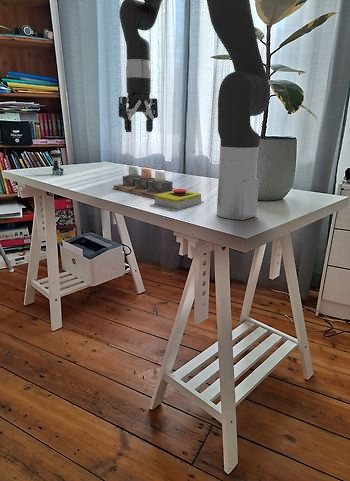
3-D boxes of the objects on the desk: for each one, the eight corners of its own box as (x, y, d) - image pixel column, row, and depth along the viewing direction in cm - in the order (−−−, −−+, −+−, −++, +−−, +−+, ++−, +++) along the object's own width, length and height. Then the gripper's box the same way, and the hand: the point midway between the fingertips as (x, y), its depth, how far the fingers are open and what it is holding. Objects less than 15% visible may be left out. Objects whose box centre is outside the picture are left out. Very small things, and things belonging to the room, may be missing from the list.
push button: (69, 174, 147) (66, 150, 144) (59, 176, 143) (56, 151, 140) (58, 173, 151) (56, 150, 147) (48, 174, 146) (46, 150, 143)
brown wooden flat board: (181, 193, 113) (182, 180, 111) (154, 198, 105) (154, 185, 103) (140, 184, 127) (139, 173, 126) (113, 188, 119) (112, 176, 118)
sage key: (140, 178, 120) (140, 166, 118) (132, 179, 117) (132, 167, 116) (134, 176, 122) (134, 165, 120) (127, 177, 120) (126, 166, 118)
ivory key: (167, 183, 110) (167, 171, 109) (160, 184, 108) (159, 172, 107) (160, 182, 112) (160, 169, 111) (152, 183, 110) (152, 170, 109)
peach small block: (153, 180, 115) (153, 168, 113) (145, 181, 113) (145, 169, 111) (147, 179, 117) (146, 167, 116) (139, 180, 115) (139, 168, 114)
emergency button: (206, 189, 100) (171, 197, 90) (205, 203, 102) (171, 213, 91) (182, 185, 106) (147, 191, 96) (182, 198, 108) (147, 207, 97)
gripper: (127, 74, 98) (128, 133, 104) (163, 78, 107) (163, 132, 113) (112, 75, 103) (114, 131, 109) (148, 79, 112) (148, 130, 118)
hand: (139, 131), depth 111 cm, fingers open, 8 cm apart
